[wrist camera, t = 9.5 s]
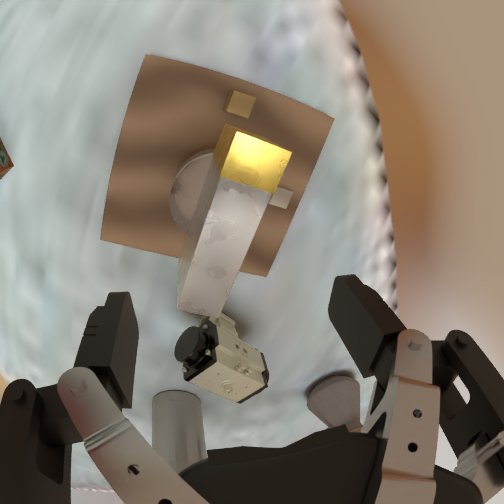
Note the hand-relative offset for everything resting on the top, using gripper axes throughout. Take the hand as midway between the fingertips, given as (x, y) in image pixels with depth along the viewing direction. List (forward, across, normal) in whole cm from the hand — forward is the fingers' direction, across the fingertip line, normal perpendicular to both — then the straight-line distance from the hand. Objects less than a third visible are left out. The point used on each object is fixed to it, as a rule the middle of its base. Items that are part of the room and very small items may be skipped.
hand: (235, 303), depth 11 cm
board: (+21, 0, 0) cm, 21 cm away
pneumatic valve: (+22, -1, +20) cm, 30 cm away
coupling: (+15, 0, 0) cm, 15 cm away
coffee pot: (+22, -18, +43) cm, 51 cm away
